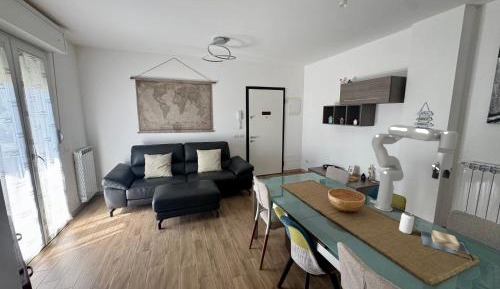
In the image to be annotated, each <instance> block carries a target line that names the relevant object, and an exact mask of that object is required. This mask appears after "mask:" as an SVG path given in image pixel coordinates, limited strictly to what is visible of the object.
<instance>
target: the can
mask: <svg viewBox="0 0 500 289" xmlns="http://www.w3.org/2000/svg"><path fill="white" fill-rule="evenodd" d="M414 223H415V215H414V214H413V213H412V212H409V211H403V212H402V214H401V217H400V222H399V227H398V230H399V231H400V233H403V234H406V235H410V234H412V232H413V228H414Z"/></svg>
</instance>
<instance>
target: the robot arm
mask: <svg viewBox="0 0 500 289" xmlns="http://www.w3.org/2000/svg"><path fill="white" fill-rule="evenodd" d="M403 138H405V139H409V140H417V141H423V142H438V147H437V151H436V152H437V153H435V156H434V159H433V163H432V165H431V170H432V172H431V173H432V174H431V178H432V179H435V180H439V178H440V177H439V176H440V171H443V172H442V178H445V179H450V174H451V172H452V170H453V167H454V164H453V163H454V155H455V152H456V151H455V150H456V148H457V142H458V139H459V133H458V131H456V130H455V131H454V130H442V129H435V128H433V129H432V128H431V129H430V128H420V127H418V128H417V127H415V126H413V125H412V126H411V125H403V124H393V125H390V126H389V127H388V129H387V133H378V134H375V135H373V137H372V139H371V146H372V148H373V151H374V154H375V157H376V158H375V159H376V161H377V164H378V166H379V167H380V168H383V170H381V172H379V186H378V192H377V197H376V200H373V199H370V200H369V202H370V203H372V204H373V207H374V208H376V209H378V210H380V211H383V212H392V211H393V208H392V207H391V206H392V200H393V195H394V190H395V189H394V188H395V187H394V182H401V181H403V180H404V171H403V169H402V165H401V162H400V160H399V159H398V158H397V157H396V156H394V155H389V152H388V150H387V148H386V147H385V146H384V145H393V144H395V143H397V142H398V141H400V140H403Z"/></svg>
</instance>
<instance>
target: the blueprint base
mask: <svg viewBox="0 0 500 289" xmlns="http://www.w3.org/2000/svg"><path fill="white" fill-rule="evenodd" d="M420 233H421V234H420ZM419 234H420V237H421V240H422V245H423V246H425V247H428V248H432V249H434V248H435V250H437V249H439V250H438V251H440V250H443V251H446V252H445V253H447V252H450V253H454V254H457V252H455V251H453V250H456V251H458V249H460V250H461V251H463V252H465V253H468V254H470V255H471V253H470V252H469V250H468V249H467V246H466V245H465V244H464V242H462V241H459V240H458V239H457V238H456V236H455V235H453V234H448V233H444V232H441V231H437V230H435V229H432V230H431V232H428V231H426V230H425V231H424V230H422V229H420V230H419ZM443 251H442V252H443ZM450 253H449V254H450ZM459 255H460V254H459Z"/></svg>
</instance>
